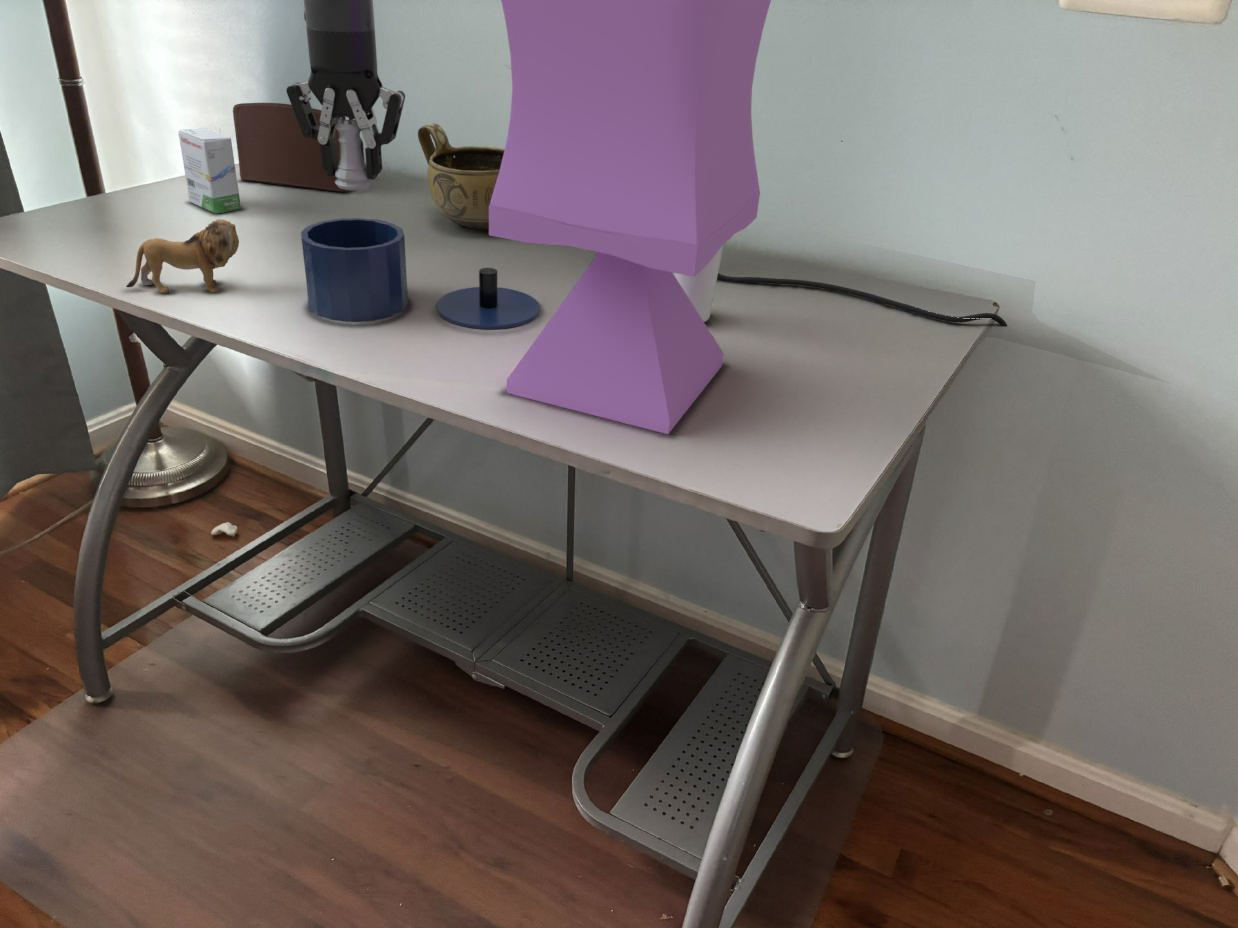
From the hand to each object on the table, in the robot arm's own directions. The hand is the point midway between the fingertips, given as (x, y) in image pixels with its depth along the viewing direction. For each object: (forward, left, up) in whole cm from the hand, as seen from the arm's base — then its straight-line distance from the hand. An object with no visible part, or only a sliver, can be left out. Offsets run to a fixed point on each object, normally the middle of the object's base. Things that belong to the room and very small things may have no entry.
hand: (352, 175), depth 118 cm
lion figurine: (+24, -2, -18) cm, 30 cm away
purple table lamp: (-35, +13, -18) cm, 41 cm away
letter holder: (+29, -56, -18) cm, 65 cm away
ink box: (+37, -37, -18) cm, 55 cm away
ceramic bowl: (-7, -40, -18) cm, 44 cm away
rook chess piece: (0, 0, -1) cm, 1 cm away
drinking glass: (-43, -8, -18) cm, 47 cm away
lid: (-16, -3, -17) cm, 24 cm away
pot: (+1, -1, -18) cm, 18 cm away
